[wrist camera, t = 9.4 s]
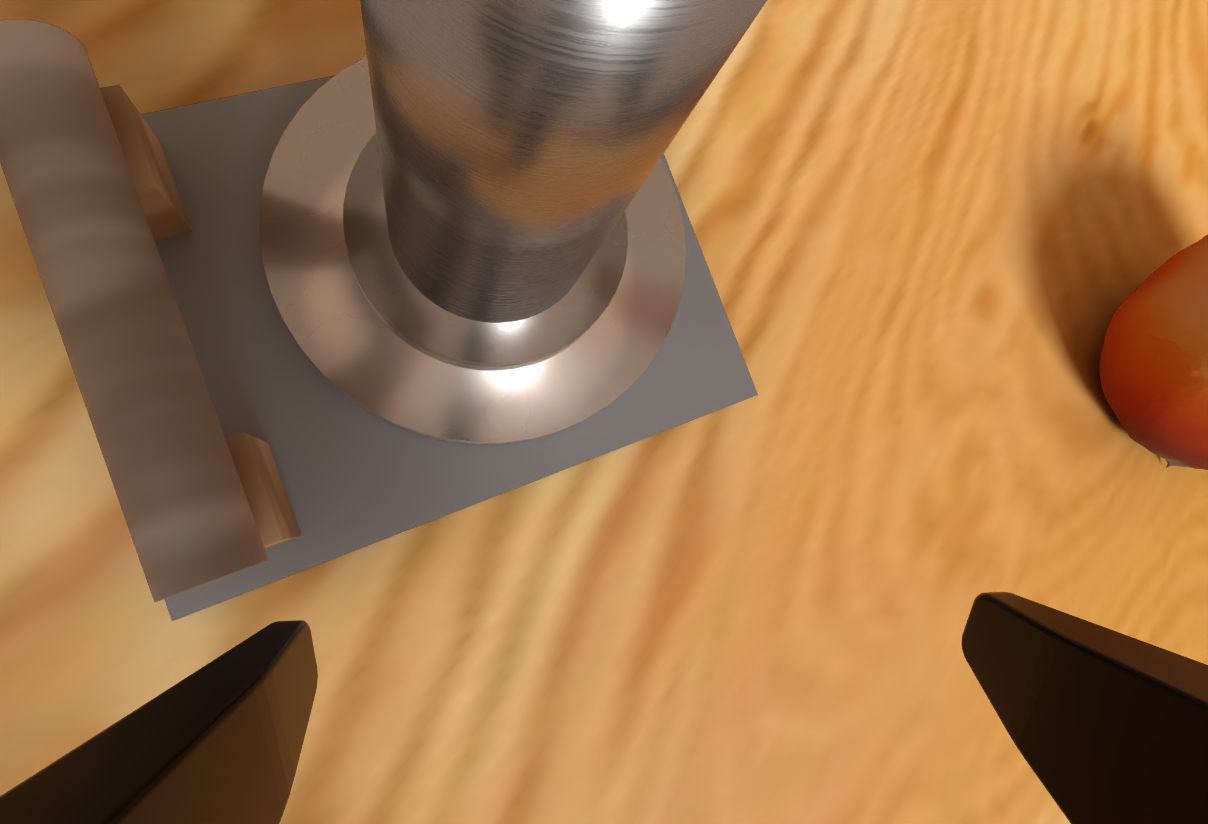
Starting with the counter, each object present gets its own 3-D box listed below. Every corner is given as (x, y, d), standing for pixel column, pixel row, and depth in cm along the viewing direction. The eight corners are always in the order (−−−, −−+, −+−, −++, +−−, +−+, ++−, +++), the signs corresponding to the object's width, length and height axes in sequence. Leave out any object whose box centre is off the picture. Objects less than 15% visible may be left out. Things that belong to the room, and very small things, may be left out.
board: (188, 613, 18) (172, 620, 16) (30, 165, 18) (3, 142, 17) (740, 400, 22) (757, 394, 21) (601, 45, 22) (611, 19, 21)
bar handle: (306, 547, 17) (267, 558, 13) (201, 586, 17) (125, 612, 12) (156, 131, 18) (70, 9, 13) (48, 153, 17) (-79, 32, 13)
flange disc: (352, 507, 18) (349, 508, 17) (204, 101, 18) (194, 83, 17) (730, 368, 21) (742, 362, 20) (596, 22, 21) (602, 4, 20)
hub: (475, 427, 18) (601, 235, 5) (285, 212, 18) (-54, -529, 5) (668, 262, 20) (1086, -157, 7) (500, 65, 19) (643, -738, 7)
